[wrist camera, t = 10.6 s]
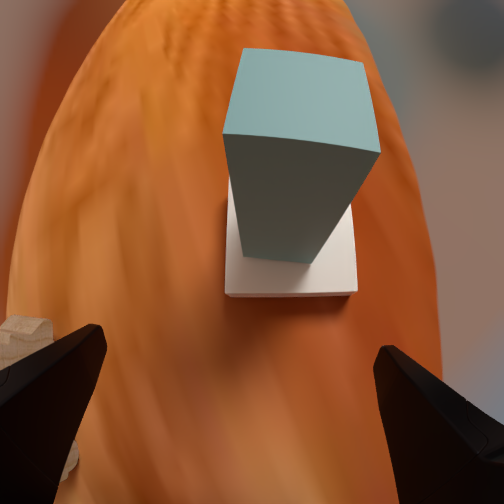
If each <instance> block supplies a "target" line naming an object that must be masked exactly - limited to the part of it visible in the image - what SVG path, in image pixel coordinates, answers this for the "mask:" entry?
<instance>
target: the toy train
mask: <svg viewBox="0 0 504 504" xmlns="http://www.w3.org/2000/svg"><path fill="white" fill-rule="evenodd" d="M53 342H55V341H53V323H52V321H51V320H49V319H43V318H35V317H27V316H20V315H11V316H10V317H9V318H8V319H7V320H6V321H5V322H4V323H3V324H2V325H1V326H0V370H2V369H4V368H6V367H8V366H9V365H10V366H11V365H12V364H13V363H15V362H17V361H19V360H21V359H23V358H25V357H27V356H28V355H30V354H32V353H34V352H36V351H38V350H40V349H42V348H44V347H46V346H48V345H49V344H51V343H53ZM78 457H79V450H78V446H77V443H76V441H75V440H74V442H73V444H72V447H71V450H70V453H69V455H68V458H67V461H66V464H65V467H64V470H63V473H62V476H61V479H60V482H62V481H64V480H66V479H67V478H68V472H69V471H71V470H72V469H73V468H74V467H75V466H76V464H77V461H78ZM60 482H59V483H60Z"/></svg>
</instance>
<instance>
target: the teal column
mask: <svg viewBox="0 0 504 504" xmlns="http://www.w3.org/2000/svg"><path fill="white" fill-rule="evenodd" d="M223 139H224V145H225V152H226V158H227V164H228V170H229V176H230V182H231V188H232V194H233V200H234V206H235V212H236V218H237V224H238V230H239V235H240V241H241V247H242V253H243V257H251V258H260V259H270V260H280V261H290V262H300V263H310V264H312V262H313V261H314V259H315V258H316V256H317V255H318V253H319V252H320V250H321V249H322V247H323V246H324V244H325V243H326V241H327V240H328V238H329V237H330V235H331V233H332V232H333V230H334V229H335V227H336V226H337V224H338V222H339V221H340V219H341V218H342V216H343V215H344V213H345V211H346V210H347V208H348V206H349V205H350V203H351V202H352V200H353V198H354V197H355V195H356V194H357V192H358V190H359V189H360V187H361V185H362V184H363V182H364V180H365V179H366V177H367V175H368V174H369V172H370V170H371V169H372V167H373V165H374V163H375V162H376V160H377V158H378V157H379V155H380V153H381V151H380V144H379V138H378V132H377V126H376V120H375V115H374V110H373V105H372V100H371V95H370V91H369V86H368V82H367V78H366V73H365V69H364V65H363V63H361V62H356V61H352V60H346V59H341V58H336V57H330V56H324V55H317V54H310V53H302V52H293V51H282V50H270V49H251V48H244V49H243V52H242V56H241V60H240V64H239V68H238V71H237V75H236V79H235V83H234V87H233V91H232V95H231V99H230V104H229V108H228V112H227V116H226V121H225V125H224V129H223Z"/></svg>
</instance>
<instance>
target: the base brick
mask: <svg viewBox="0 0 504 504" xmlns="http://www.w3.org/2000/svg"><path fill="white" fill-rule="evenodd" d="M357 291H358V288H357V270H356V255H355V242H354V231H353V221H352V212H351V203H350V205H349V206H348V208H347V210H346V211H345V213H344V215H343V216H342V218H341V219H340V221H339V222H338V224H337V226H336V227H335V229H334V230H333V232H332V233H331V235H330V237H329V238H328V240H327V241H326V243H325V244H324V246H323V247H322V249H321V250H320V252H319V253H318V255H317V256H316V258H315V259H314V261H313V262H312V264H310V263H300V262H290V261H280V260H270V259H260V258H251V257H243V253H242V247H241V241H240V235H239V230H238V224H237V218H236V212H235V206H234V200H233V194H232V188H231V182H230V176H229V193H228V214H227V239H226V267H225V294H227V295H228V296H230V297H316V296H348V295H352V294H354V293H355V292H357Z"/></svg>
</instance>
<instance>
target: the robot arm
mask: <svg viewBox="0 0 504 504" xmlns="http://www.w3.org/2000/svg"><path fill="white" fill-rule="evenodd" d="M106 352H107V343H106V339H105V336H104V332H103V329H102V327H101V326H100V325H96V324H88V325H86V326H84V327H82V328H80V329H78V330H76V331H74V332H72V333H71V334H69V335H67V336H65V337H63V338H61V339H59V340H57V341H55V342H53V343H51V344H49V345H48V346H46V347H44V348H42V349H40V350H38V351H36V352H34V353H32V354H30V355H28V356H27V357H25V358H23V359H21V360H19V361H17V362H15V363H13V364H12V365H11V366H10V365H9V366H8V367H6V368H4V369H2V370H0V504H53V503H54V499H55V496H56V493H57V489H58V485H59V482H60V479H61V476H62V473H63V470H64V467H65V464H66V461H67V458H68V455H69V453H70V450H71V447H72V444H73V442H74V439H75V436H76V434H77V431H78V428H79V426H80V423H81V421H82V418H83V416H84V413H85V411H86V408H87V406H88V403H89V401H90V399H91V396H92V394H93V391H94V389H95V386H96V383H97V380H98V377H99V374H100V370H101V367H102V364H103V361H104V358H105V355H106ZM373 372H374V379H375V385H376V392H377V399H378V406H379V411H380V415H381V419H382V423H383V427H384V431H385V436H386V440H387V444H388V449H389V453H390V458H391V462H392V467H393V472H394V477H395V482H396V487H397V493H398V499H399V504H504V425H503V424H501V423H499V422H498V421H496V420H495V419H493V418H492V417H490V416H489V415H487V414H485V413H484V412H483V411H481V410H480V409H479V408H477V407H476V406H474V405H473V404H472V403H470V402H469V401H466V399H465V398H464V397H462V396H461V395H460V394H458V393H457V392H456V391H454V390H453V389H452V388H450V387H449V386H448V385H446V384H445V383H444V382H442V381H441V380H440V379H438V378H437V377H436V376H434V375H433V374H432V373H430V372H429V371H428V370H426V369H425V368H424V367H422V366H421V365H420V364H418V363H417V362H416V361H414V360H413V359H412V358H410V357H409V356H408V355H406V354H405V353H403V352H402V351H401V350H399V349H398V348H397V347H395V346H394V345H384V346H382V347H381V348H380V350H379V352H378V355H377V357H376V360H375V362H374V366H373Z"/></svg>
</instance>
